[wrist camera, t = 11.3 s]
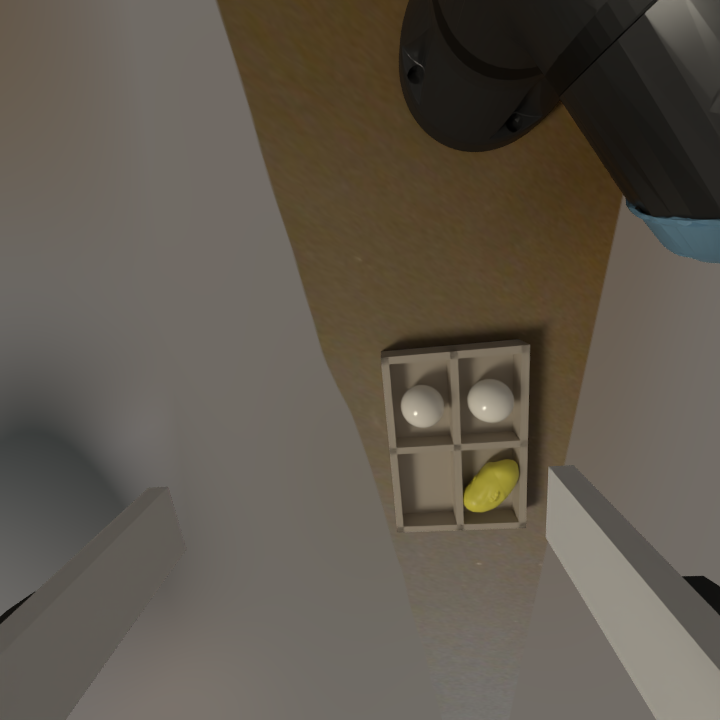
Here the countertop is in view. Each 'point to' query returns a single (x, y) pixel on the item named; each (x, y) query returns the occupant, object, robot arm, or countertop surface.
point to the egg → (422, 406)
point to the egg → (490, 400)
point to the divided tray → (455, 434)
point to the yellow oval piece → (491, 485)
